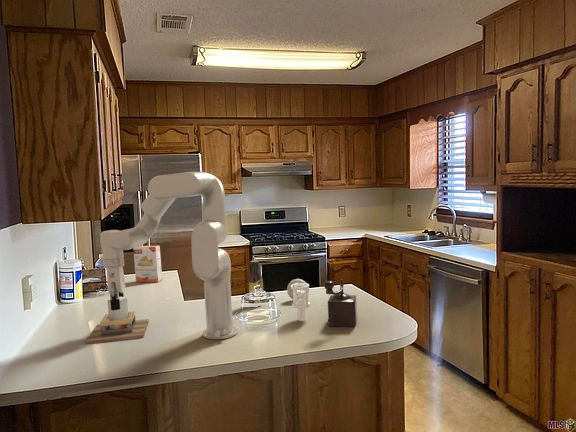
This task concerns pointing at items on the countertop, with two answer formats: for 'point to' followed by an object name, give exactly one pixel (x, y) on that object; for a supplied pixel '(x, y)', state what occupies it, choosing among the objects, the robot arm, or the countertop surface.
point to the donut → (289, 290)
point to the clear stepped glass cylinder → (300, 299)
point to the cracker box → (147, 264)
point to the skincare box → (118, 313)
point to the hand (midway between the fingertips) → (117, 306)
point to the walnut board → (136, 333)
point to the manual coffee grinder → (341, 307)
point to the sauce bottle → (255, 276)
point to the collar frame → (106, 322)
